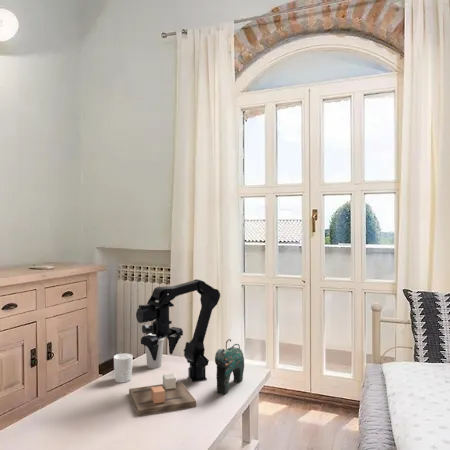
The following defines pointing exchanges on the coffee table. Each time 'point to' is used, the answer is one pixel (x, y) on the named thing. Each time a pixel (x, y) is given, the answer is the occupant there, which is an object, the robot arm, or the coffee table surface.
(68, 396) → the coffee table surface
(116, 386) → the coffee table surface
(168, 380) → the block
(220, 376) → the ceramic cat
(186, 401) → the fader panel
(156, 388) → the block
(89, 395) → the coffee table surface
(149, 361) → the coffee cup
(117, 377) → the white cup
